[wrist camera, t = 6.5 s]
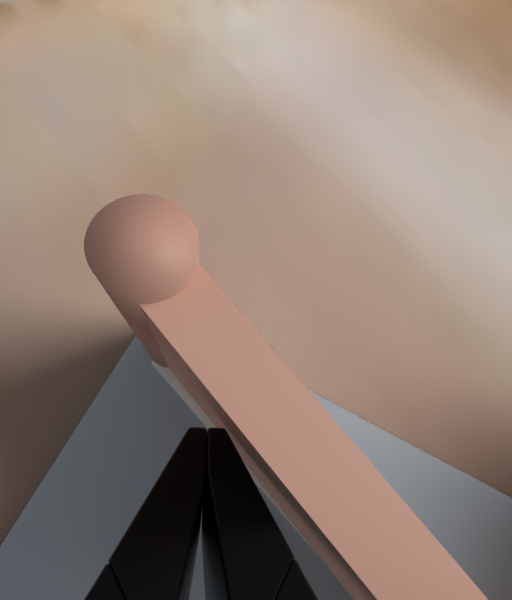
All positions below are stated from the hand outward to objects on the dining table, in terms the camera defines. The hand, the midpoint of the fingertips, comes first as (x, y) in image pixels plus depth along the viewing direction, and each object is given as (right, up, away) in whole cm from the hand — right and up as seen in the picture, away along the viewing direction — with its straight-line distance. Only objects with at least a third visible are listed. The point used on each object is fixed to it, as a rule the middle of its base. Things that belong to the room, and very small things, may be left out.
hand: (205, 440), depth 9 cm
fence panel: (+2, -4, +5) cm, 7 cm away
